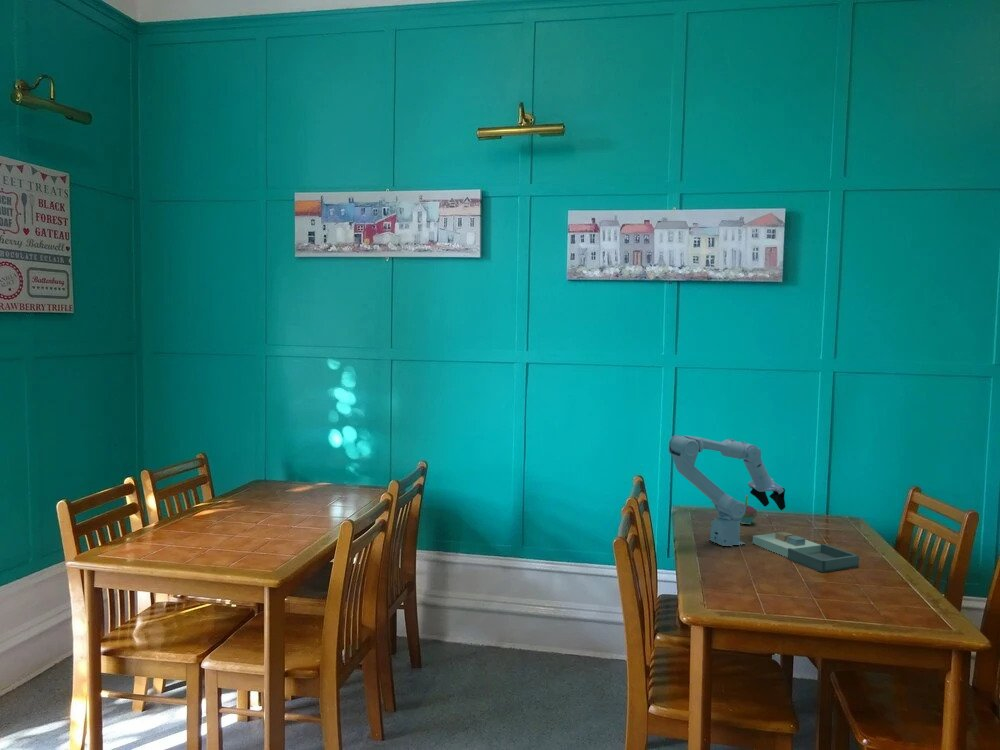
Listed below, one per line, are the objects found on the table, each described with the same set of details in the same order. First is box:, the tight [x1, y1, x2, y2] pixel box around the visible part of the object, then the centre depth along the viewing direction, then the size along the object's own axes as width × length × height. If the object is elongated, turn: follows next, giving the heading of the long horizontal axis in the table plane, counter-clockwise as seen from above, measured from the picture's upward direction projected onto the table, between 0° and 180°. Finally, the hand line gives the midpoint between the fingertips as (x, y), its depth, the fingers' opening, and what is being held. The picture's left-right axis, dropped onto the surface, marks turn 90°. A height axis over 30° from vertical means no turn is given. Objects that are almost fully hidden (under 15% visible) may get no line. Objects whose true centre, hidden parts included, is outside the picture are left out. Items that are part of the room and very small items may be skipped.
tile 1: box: [774, 531, 794, 542], centre depth 239 cm, size 4×4×2 cm
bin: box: [787, 543, 860, 573], centre depth 224 cm, size 16×14×4 cm
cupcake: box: [741, 494, 758, 523], centre depth 269 cm, size 9×8×12 cm
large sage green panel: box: [752, 532, 821, 559], centre depth 238 cm, size 14×16×3 cm
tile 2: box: [787, 535, 806, 546], centre depth 234 cm, size 4×4×2 cm
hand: (774, 506), depth 247 cm, fingers open, 7 cm apart
